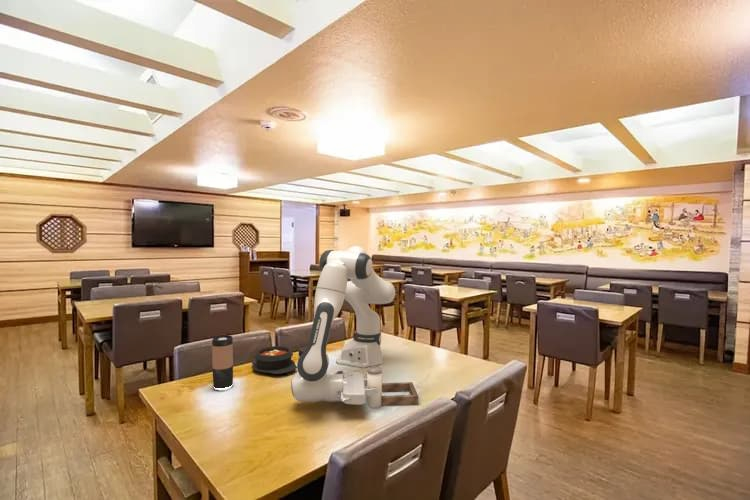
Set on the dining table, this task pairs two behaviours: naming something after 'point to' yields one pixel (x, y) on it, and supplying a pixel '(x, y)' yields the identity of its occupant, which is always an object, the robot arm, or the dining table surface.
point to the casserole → (274, 360)
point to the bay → (399, 399)
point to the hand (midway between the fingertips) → (377, 386)
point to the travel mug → (222, 361)
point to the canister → (374, 381)
